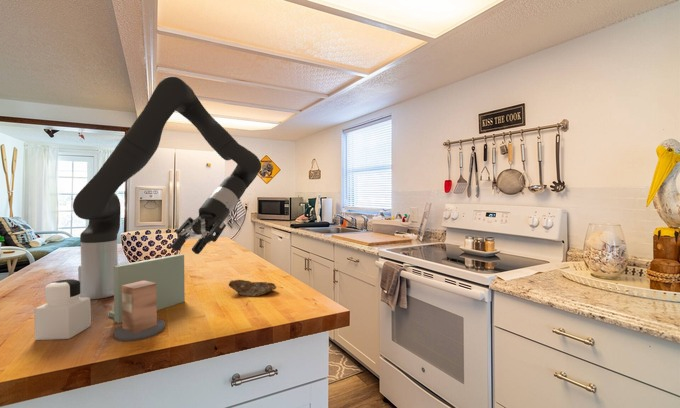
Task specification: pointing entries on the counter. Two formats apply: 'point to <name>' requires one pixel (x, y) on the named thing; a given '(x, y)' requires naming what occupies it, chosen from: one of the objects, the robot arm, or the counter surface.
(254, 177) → the robot arm
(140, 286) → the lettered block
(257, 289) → the decorative stone
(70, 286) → the white stepped block
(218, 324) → the counter surface
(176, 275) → the screen
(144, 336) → the mat
